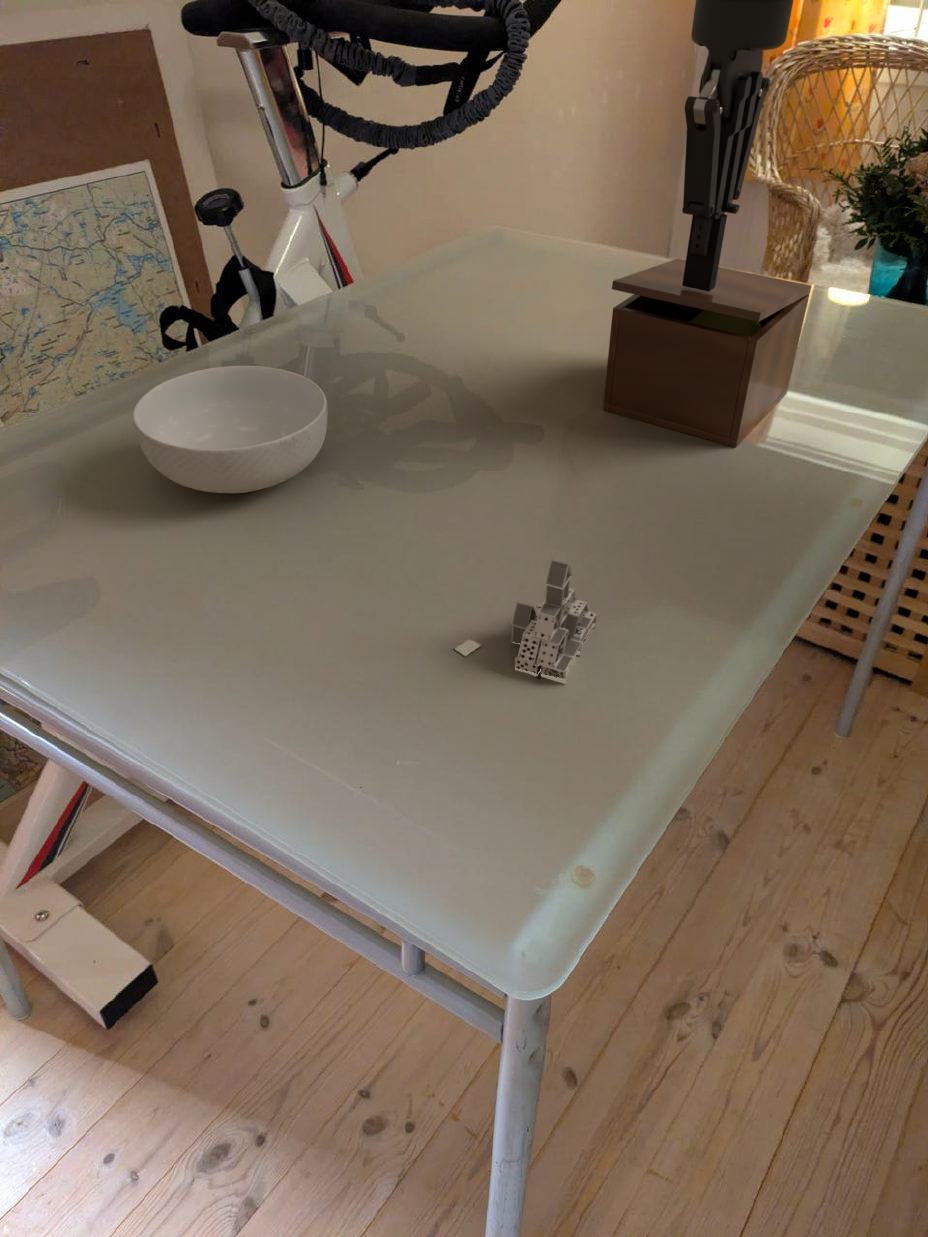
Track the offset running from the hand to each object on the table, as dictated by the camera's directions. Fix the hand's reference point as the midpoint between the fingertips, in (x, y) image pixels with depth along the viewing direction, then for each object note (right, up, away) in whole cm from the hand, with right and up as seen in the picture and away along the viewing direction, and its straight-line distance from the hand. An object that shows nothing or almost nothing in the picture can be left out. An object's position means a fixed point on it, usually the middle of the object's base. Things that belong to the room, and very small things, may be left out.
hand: (698, 286), depth 90 cm
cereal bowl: (-43, -18, -1) cm, 46 cm away
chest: (+3, -8, +11) cm, 14 cm away
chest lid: (+2, +1, +4) cm, 4 cm away
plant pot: (-1, -6, +8) cm, 10 cm away
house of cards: (-17, -33, -19) cm, 41 cm away
